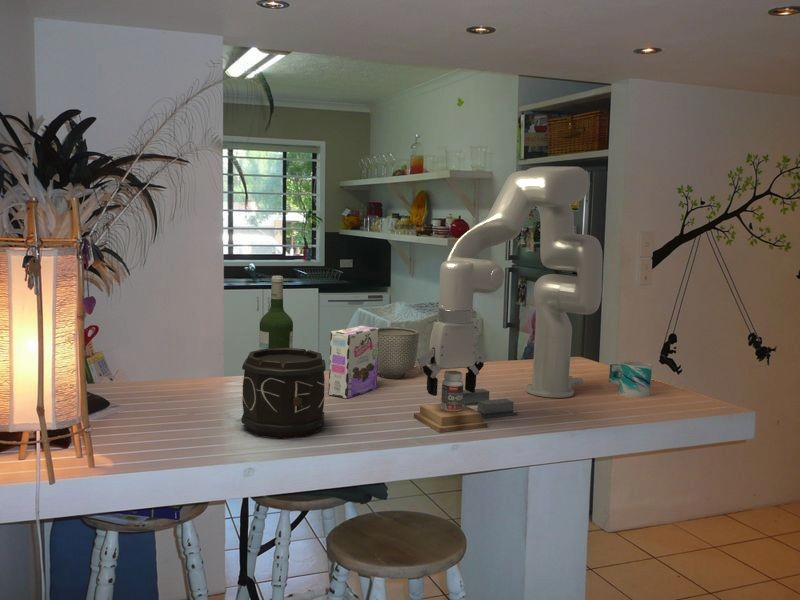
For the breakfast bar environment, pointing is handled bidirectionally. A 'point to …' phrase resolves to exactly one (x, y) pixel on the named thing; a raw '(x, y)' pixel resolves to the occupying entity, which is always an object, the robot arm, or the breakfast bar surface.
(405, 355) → the planter
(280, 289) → the wine bottle
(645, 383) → the mug
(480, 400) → the clamp jaws
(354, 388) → the candy box
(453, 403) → the pill bottle
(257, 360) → the wooden barrel
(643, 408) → the breakfast bar surface
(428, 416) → the tan square pedestal
